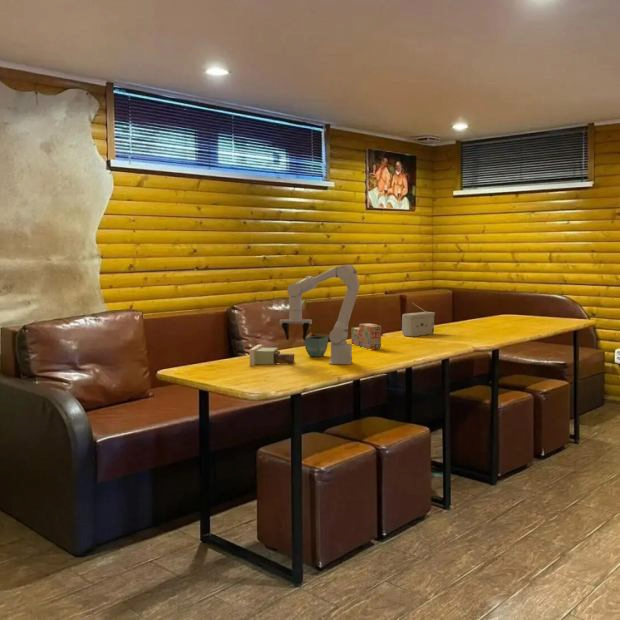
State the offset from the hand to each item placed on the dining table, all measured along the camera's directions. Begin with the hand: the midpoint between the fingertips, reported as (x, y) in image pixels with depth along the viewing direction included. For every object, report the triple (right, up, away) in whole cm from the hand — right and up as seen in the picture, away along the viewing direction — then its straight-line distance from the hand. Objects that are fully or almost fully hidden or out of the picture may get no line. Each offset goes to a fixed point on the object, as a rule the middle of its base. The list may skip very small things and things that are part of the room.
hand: (295, 339), depth 304 cm
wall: (-18, -10, -1) cm, 21 cm away
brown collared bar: (-9, -10, -3) cm, 14 cm away
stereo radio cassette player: (+70, -2, +87) cm, 112 cm away
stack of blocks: (+35, -6, +42) cm, 56 cm away
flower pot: (+9, -9, +14) cm, 19 cm away
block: (-13, -10, -2) cm, 17 cm away
